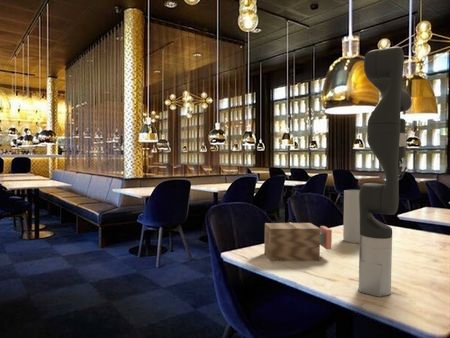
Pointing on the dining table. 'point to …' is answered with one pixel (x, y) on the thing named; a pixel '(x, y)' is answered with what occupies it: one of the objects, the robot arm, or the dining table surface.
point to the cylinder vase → (351, 216)
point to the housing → (292, 242)
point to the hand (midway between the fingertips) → (393, 189)
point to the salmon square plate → (325, 237)
